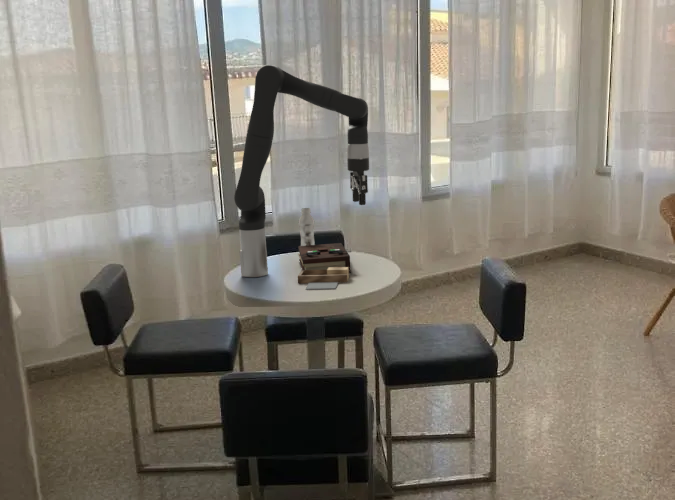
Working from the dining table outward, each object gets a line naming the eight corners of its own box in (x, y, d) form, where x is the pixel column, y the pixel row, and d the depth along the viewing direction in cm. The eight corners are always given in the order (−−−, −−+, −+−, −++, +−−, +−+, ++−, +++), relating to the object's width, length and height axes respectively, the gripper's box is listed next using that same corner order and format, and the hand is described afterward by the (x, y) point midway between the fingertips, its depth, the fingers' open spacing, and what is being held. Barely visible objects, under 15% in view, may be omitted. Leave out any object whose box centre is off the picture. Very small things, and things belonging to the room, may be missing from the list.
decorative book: (343, 239, 281) (354, 254, 252) (344, 258, 283) (355, 275, 254) (294, 243, 279) (299, 258, 250) (295, 261, 281) (301, 279, 252)
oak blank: (327, 281, 246) (327, 270, 246) (329, 278, 250) (328, 267, 250) (347, 280, 245) (347, 269, 245) (348, 278, 249) (348, 267, 249)
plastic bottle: (318, 256, 287) (315, 207, 283) (314, 260, 280) (311, 209, 276) (303, 256, 288) (300, 207, 284) (298, 260, 282) (295, 210, 278)
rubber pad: (305, 289, 236) (305, 288, 236) (309, 283, 244) (309, 282, 243) (335, 289, 235) (335, 287, 235) (338, 283, 242) (338, 281, 242)
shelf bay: (298, 283, 245) (297, 276, 244) (301, 276, 254) (301, 270, 253) (347, 282, 243) (346, 275, 243) (349, 275, 252) (349, 268, 251)
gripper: (342, 155, 252) (343, 201, 256) (352, 158, 239) (354, 206, 242) (363, 155, 254) (363, 200, 257) (374, 157, 240) (375, 205, 244)
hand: (359, 203), depth 250 cm, fingers open, 8 cm apart
